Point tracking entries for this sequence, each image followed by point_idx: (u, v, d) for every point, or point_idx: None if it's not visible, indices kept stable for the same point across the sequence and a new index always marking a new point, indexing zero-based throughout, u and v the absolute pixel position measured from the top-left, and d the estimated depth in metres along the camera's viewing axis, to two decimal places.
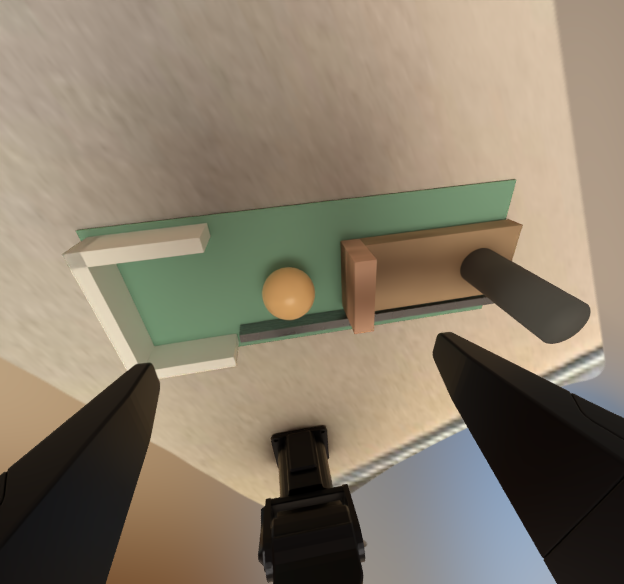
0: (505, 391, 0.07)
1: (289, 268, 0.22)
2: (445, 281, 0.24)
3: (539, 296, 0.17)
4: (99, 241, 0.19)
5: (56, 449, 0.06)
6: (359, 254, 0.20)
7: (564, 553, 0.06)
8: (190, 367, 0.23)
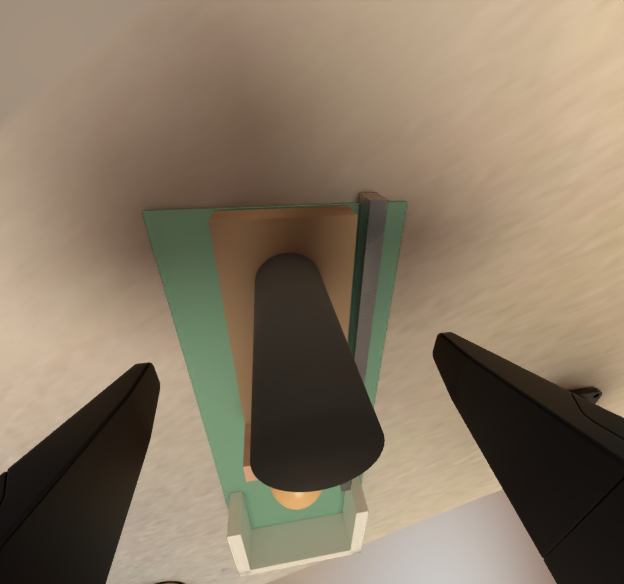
0: (505, 391, 0.07)
1: None
2: None
3: None
4: None
5: (56, 449, 0.06)
6: None
7: (564, 553, 0.06)
8: (357, 532, 0.25)
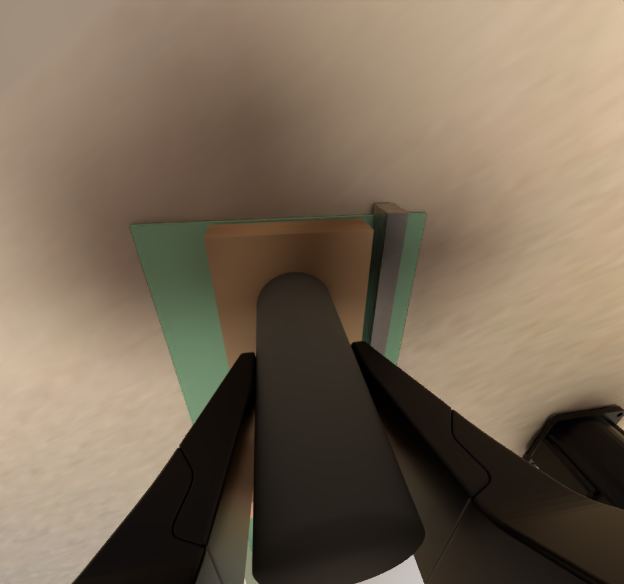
0: (391, 406, 0.07)
1: None
2: None
3: None
4: None
5: (214, 428, 0.06)
6: None
7: (437, 581, 0.06)
8: None
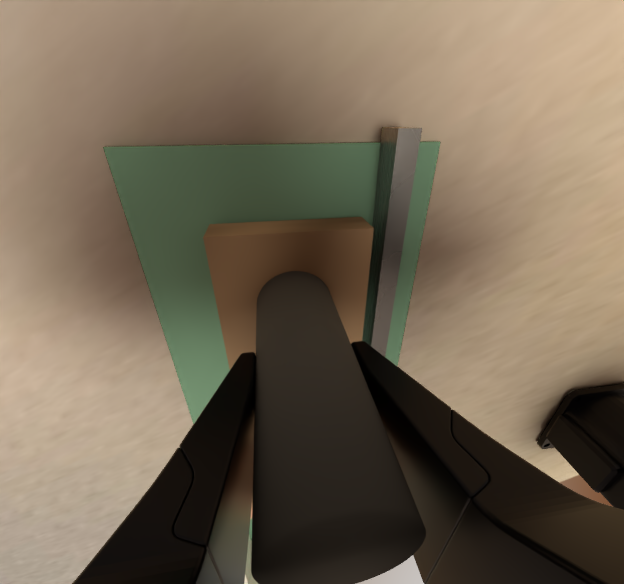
0: (390, 406, 0.07)
1: None
2: None
3: None
4: None
5: (215, 428, 0.06)
6: None
7: (436, 581, 0.06)
8: None
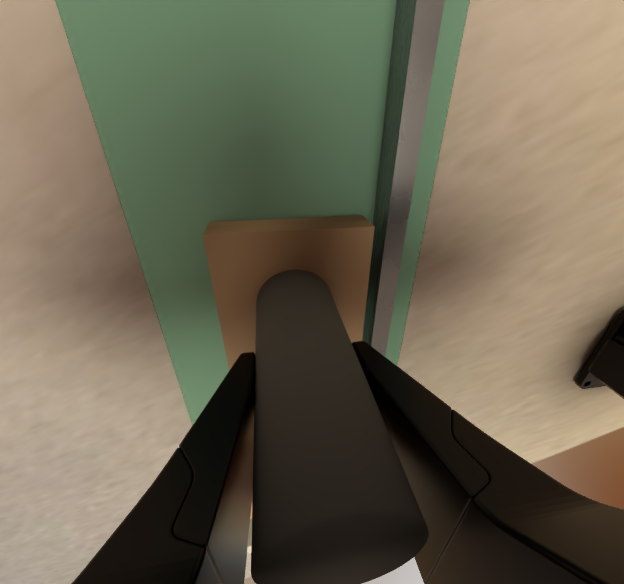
0: (390, 406, 0.07)
1: None
2: None
3: None
4: None
5: (214, 428, 0.06)
6: None
7: (436, 581, 0.06)
8: None
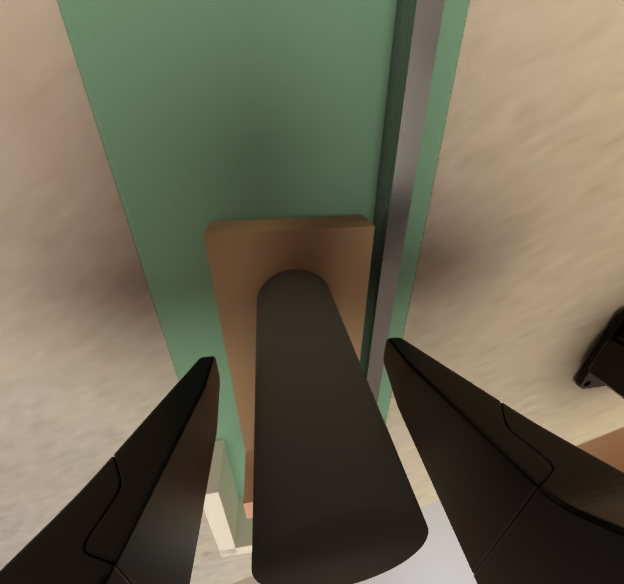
0: (438, 400, 0.07)
1: None
2: None
3: None
4: None
5: (154, 436, 0.06)
6: None
7: (489, 569, 0.06)
8: None
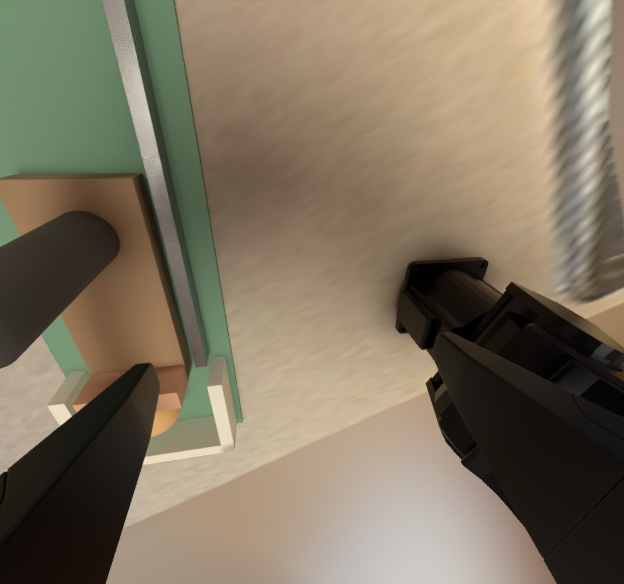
0: (505, 391, 0.07)
1: None
2: (125, 281, 0.17)
3: None
4: None
5: (56, 449, 0.06)
6: None
7: (564, 553, 0.06)
8: (219, 417, 0.22)
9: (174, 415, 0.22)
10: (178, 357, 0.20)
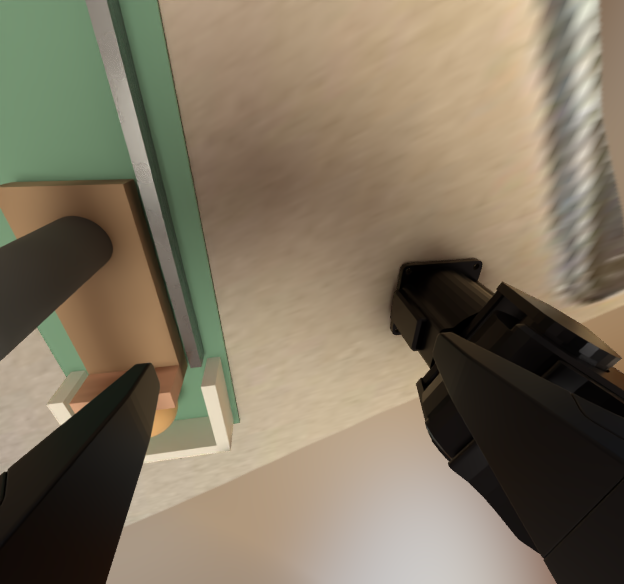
0: (505, 391, 0.07)
1: None
2: (119, 283, 0.18)
3: None
4: None
5: (56, 449, 0.06)
6: None
7: (564, 553, 0.06)
8: (214, 417, 0.23)
9: (171, 417, 0.22)
10: (172, 358, 0.21)
